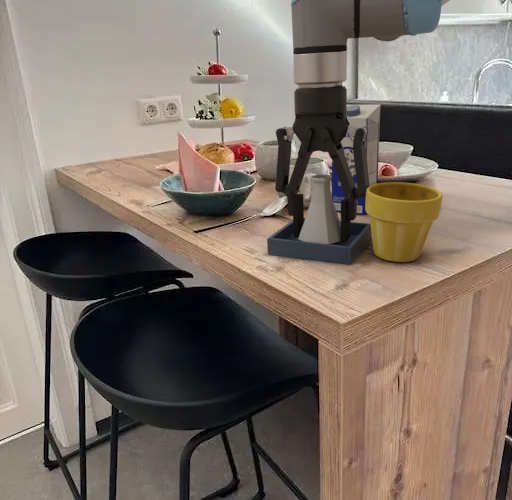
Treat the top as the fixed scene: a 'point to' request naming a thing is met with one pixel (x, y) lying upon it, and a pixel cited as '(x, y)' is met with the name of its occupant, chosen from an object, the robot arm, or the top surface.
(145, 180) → the top surface
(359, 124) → the milk carton
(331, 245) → the tray
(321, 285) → the top surface
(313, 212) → the flask
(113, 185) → the top surface
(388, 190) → the flower pot
